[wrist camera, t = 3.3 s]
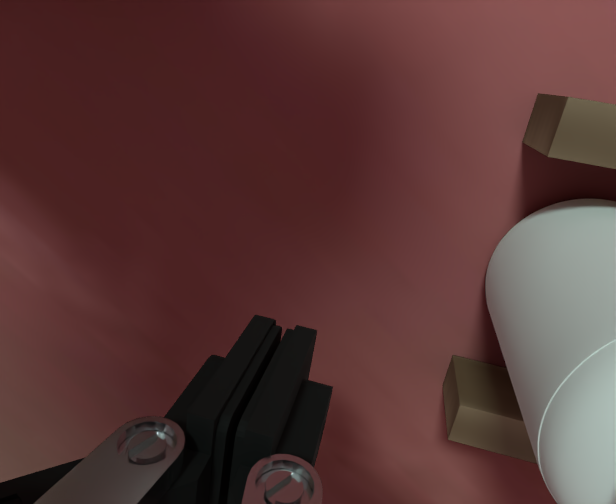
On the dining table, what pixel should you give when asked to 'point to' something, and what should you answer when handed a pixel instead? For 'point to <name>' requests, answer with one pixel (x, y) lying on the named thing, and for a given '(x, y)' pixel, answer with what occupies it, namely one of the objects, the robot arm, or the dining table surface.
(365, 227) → the dining table surface
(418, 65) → the dining table surface
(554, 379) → the pill bottle
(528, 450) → the u rest
